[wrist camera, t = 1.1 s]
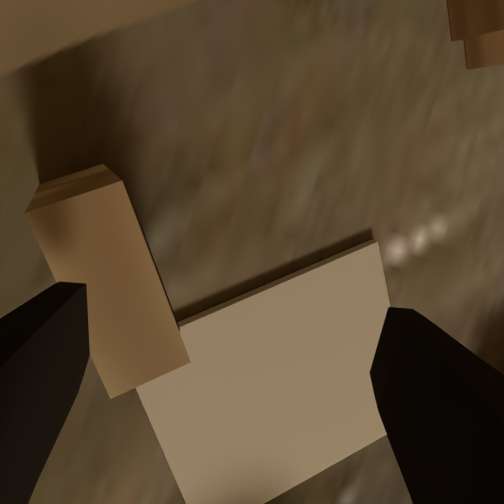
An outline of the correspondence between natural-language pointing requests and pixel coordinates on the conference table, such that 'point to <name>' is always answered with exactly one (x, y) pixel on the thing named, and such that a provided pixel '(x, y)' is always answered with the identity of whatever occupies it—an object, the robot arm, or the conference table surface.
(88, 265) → the wooden block
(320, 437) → the mat
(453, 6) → the horse crate
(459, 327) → the conference table surface
